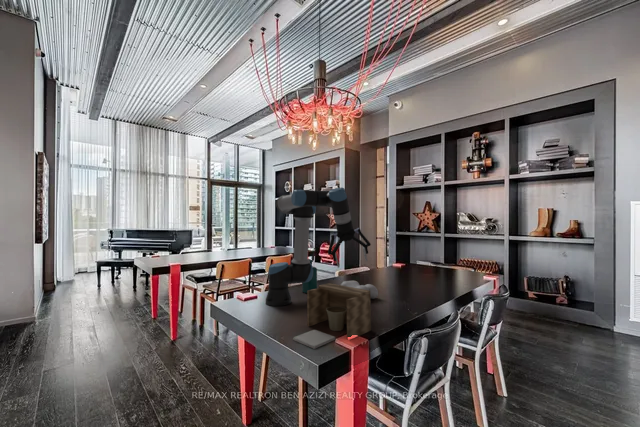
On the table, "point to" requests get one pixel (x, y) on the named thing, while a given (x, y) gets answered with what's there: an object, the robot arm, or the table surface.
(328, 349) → the table surface
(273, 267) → the robot arm
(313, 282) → the dark green bottle
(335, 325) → the flower pot
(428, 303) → the table surface
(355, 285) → the torso sculpture
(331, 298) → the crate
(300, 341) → the tile
